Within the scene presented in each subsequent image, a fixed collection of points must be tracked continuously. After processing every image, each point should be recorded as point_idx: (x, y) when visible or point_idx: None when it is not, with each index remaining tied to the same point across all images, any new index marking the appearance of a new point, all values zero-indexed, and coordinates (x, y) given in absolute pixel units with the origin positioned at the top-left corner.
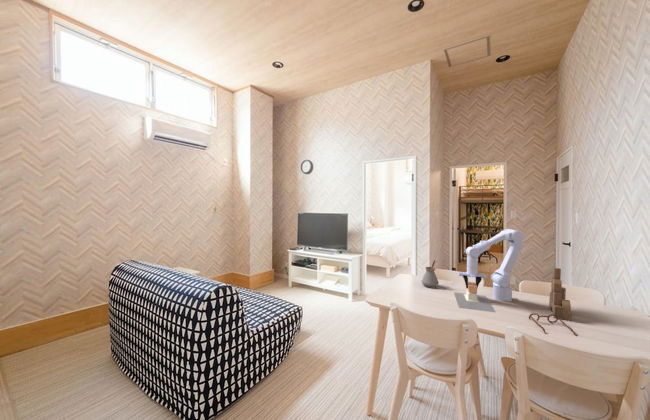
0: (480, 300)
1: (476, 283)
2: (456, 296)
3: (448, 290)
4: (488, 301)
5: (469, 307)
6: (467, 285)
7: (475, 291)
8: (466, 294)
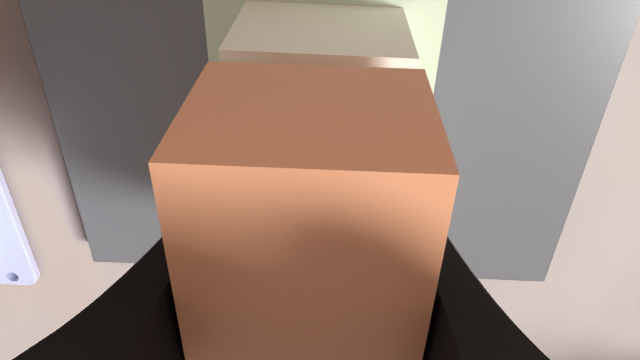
0: (176, 48)
1: (157, 345)
2: (576, 128)
3: (563, 354)
4: (41, 37)
5: None
6: None
7: (243, 75)
8: None
